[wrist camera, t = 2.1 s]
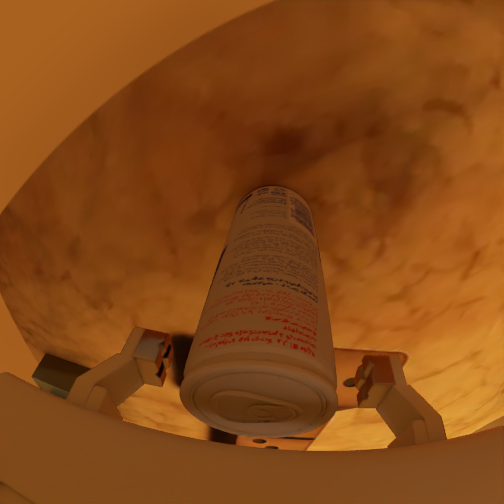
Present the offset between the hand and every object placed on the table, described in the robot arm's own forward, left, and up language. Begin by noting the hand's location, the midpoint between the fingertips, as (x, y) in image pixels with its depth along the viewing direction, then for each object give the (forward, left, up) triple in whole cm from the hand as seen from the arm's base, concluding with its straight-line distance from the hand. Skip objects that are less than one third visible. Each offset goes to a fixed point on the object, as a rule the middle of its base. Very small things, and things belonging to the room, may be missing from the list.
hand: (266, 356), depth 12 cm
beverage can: (0, 0, -12) cm, 12 cm away
